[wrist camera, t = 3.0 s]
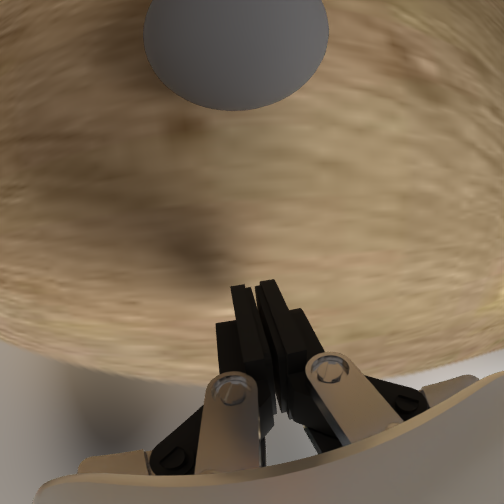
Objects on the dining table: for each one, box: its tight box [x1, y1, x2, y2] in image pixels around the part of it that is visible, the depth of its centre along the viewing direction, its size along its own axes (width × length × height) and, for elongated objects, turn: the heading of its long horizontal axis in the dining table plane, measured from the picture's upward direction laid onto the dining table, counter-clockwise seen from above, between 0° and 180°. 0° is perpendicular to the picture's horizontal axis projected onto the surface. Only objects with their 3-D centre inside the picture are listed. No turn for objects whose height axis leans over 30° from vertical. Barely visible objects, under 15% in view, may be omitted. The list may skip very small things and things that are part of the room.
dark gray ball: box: [143, 0, 329, 111], centre depth 6 cm, size 6×6×6 cm
